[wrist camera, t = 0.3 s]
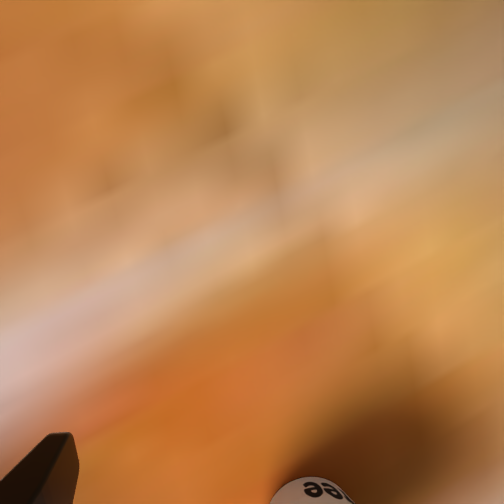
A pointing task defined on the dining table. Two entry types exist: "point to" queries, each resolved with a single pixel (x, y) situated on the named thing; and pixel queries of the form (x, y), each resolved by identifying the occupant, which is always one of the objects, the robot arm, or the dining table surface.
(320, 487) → the cup
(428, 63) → the dining table surface
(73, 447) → the robot arm
